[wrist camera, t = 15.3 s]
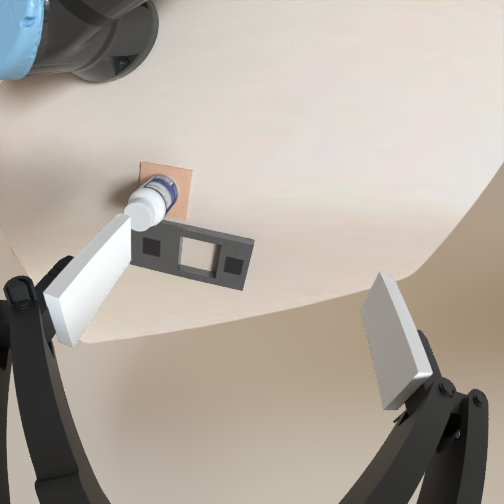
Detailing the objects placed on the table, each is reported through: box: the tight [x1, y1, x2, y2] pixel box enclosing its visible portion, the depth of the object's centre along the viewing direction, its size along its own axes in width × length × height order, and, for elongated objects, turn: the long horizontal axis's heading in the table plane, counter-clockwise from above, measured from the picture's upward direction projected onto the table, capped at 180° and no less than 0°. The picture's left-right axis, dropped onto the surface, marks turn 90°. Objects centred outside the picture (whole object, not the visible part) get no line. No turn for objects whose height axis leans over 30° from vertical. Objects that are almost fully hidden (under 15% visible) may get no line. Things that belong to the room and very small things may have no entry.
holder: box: [130, 220, 254, 291], centre depth 48 cm, size 20×9×2 cm, turn 78°
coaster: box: [140, 162, 193, 220], centre depth 44 cm, size 8×8×1 cm
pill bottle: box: [123, 174, 179, 231], centre depth 39 cm, size 5×5×10 cm
